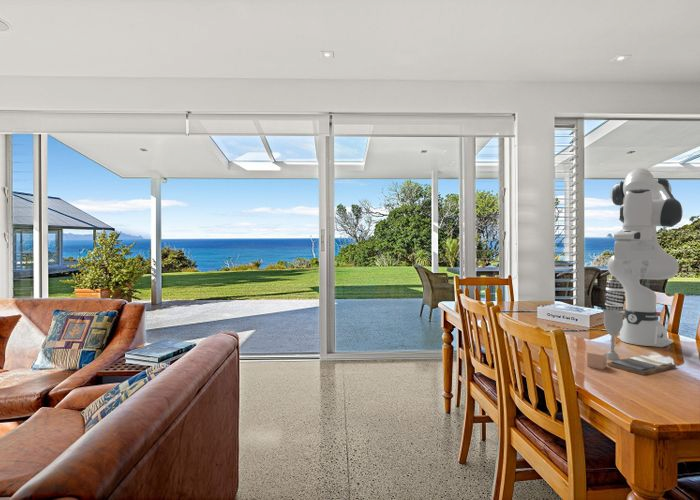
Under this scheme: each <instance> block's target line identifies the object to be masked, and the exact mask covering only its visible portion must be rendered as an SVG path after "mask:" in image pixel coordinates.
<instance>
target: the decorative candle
mask: <svg viewBox="0 0 700 500" xmlns="http://www.w3.org/2000/svg"><path fill="white" fill-rule="evenodd" d="M605 282H606V287H605V290H604V293H605V294H604V299H605V300H604V305H605V310H619V311H624V306H625V302H624V301H626V298H625V291H624V288H623V286H622V284H621V283H620V282H619V281H618V280H617V279H616V278H609V279H607V281H605ZM624 319H625V317H624V314H623V320H624Z"/></svg>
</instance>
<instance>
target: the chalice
mask: <svg viewBox="0 0 700 500" xmlns="http://www.w3.org/2000/svg"><path fill="white" fill-rule="evenodd" d="M602 313H603V325H604V326H605V327H604V328H605V329H606V332H607V334H608V335H609V336H610V344H609V346H610V350H608V351H607V352H606V353H607V359H608V360H612V361H616V360H621V359H620V356H619V354H618V352H616V351H615V347H616V345H615V342H616V340H615V336H618V335H619V334H620V330H621V328H622V326H623V318H624V317H623V315H624V313H625V312H624V310H623V311H619V310H606V309H602Z"/></svg>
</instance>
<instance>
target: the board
mask: <svg viewBox="0 0 700 500" xmlns="http://www.w3.org/2000/svg"><path fill="white" fill-rule="evenodd" d="M607 366H608V367H613V368H615V369H618V370H622V371H623V370H624V371H627V372H630V373H634V374H638V375H641V376H646V375H649V374H654V373H657V372H662V371H667V370H671V369H674V368H676V364H675V363H673V362H671V361H667V360H664V359H658V358H655V357H651V356H648V355H647V356H646V355H637V356H632V357H628V358H622V359H620V360H612V361H607Z"/></svg>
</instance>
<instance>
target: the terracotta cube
mask: <svg viewBox="0 0 700 500" xmlns="http://www.w3.org/2000/svg"><path fill="white" fill-rule="evenodd" d="M586 357H587V359H586V360H587V361H586V367H589V368H594V369H599V370H604V369H605V368H606V367H607V366H608V365H607V363H608V360H607V352H605V351H599V350H594V349H593V350H592V349H591V350H590V351H587V356H586Z"/></svg>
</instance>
